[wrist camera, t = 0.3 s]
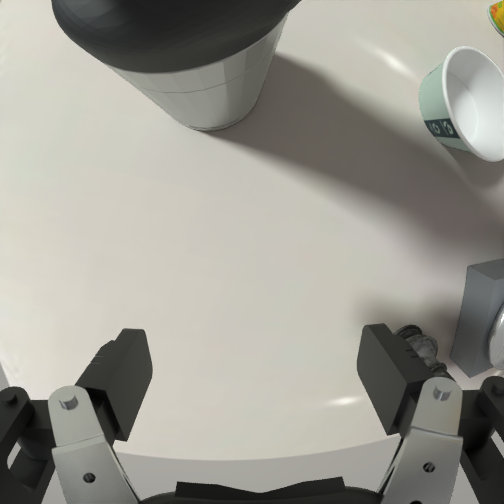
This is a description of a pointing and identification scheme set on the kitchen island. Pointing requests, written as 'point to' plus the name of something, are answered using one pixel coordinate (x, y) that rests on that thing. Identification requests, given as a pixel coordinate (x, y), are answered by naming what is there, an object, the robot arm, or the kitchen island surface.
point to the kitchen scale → (478, 316)
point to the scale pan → (497, 341)
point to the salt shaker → (424, 349)
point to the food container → (466, 103)
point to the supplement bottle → (497, 16)
